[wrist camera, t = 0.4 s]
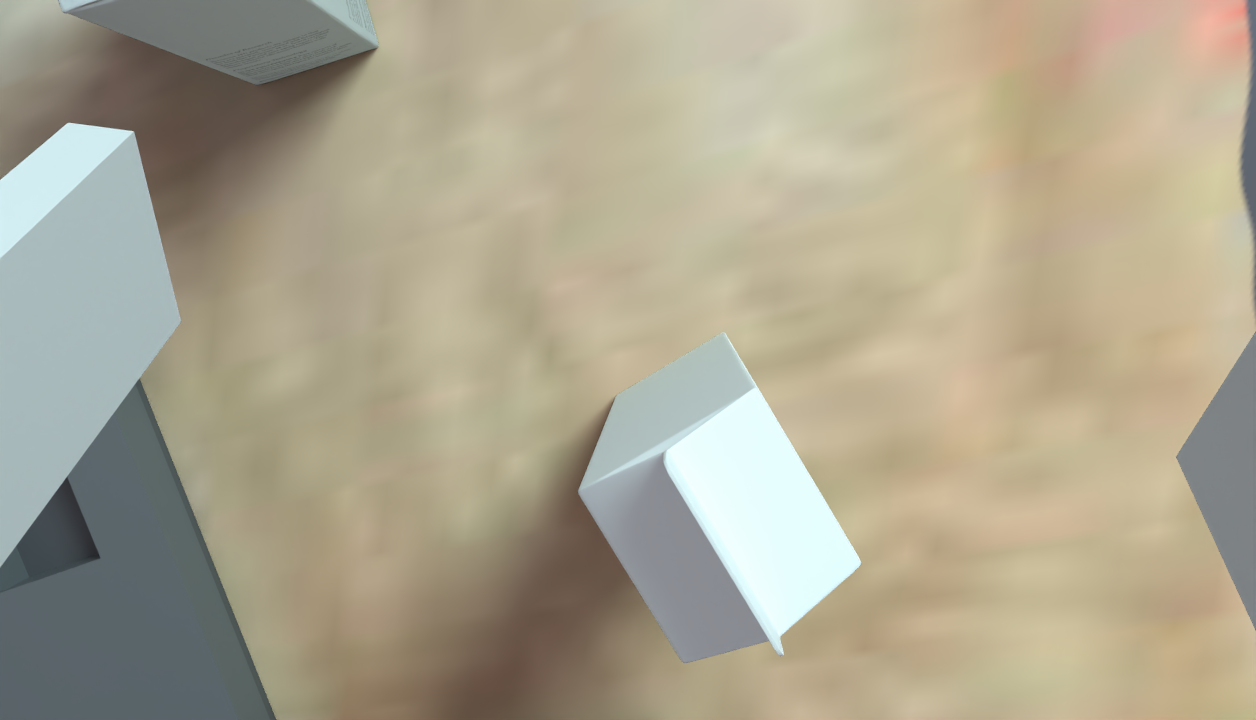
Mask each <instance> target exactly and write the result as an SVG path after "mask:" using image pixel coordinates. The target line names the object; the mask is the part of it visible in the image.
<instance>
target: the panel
mask: <svg viewBox="0 0 1256 720" xmlns="http://www.w3.org/2000/svg"><path fill="white" fill-rule="evenodd" d="M0 720H276V718H275V716H274V713H273V711H272V708H271V706H270V703H269V701H268V698H267V696H266V693H265V691H264V688H263V686H262V683H261V681H260V678H259V676H258V673H257V671H256V668H255V666H254V663H253V661H252V658H251V656H250V653H249V651H248V648H247V646H246V643H245V641H244V638H243V636H242V633H241V631H240V629H239V626H238V624H237V621H236V619H235V616H234V614H233V611H232V609H231V606H230V604H229V601H228V599H227V596H226V594H225V591H224V589H223V586H222V584H221V581H220V579H219V576H218V574H217V571H216V569H215V566H214V564H213V561H212V559H211V556H210V554H209V551H208V549H207V546H206V544H205V541H204V539H203V536H202V534H201V531H200V529H199V526H198V524H197V521H196V519H195V516H194V514H193V511H192V509H191V506H190V504H189V501H188V499H187V496H186V494H185V491H184V489H183V486H182V484H181V481H180V479H179V476H178V474H177V471H176V469H175V466H174V464H173V461H172V459H171V456H170V454H169V451H168V449H167V446H166V444H165V441H164V439H163V436H162V434H161V431H160V429H159V426H158V424H157V421H156V419H155V416H154V414H153V411H152V409H151V406H150V404H149V401H148V399H147V396H146V394H145V391H144V389H143V386H142V384H141V382H140V379H138V381H137V382H136V384H135V385H134V386H133V388H132V389H131V390H130V392H129V393H128V394H127V396H126V397H125V398H124V400H123V401H122V403H121V404H120V405H119V407H118V408H117V409H116V411H115V412H114V413H113V415H112V416H111V417H110V419H109V420H108V422H107V423H106V424H105V426H104V427H103V428H102V430H101V431H100V432H99V434H98V435H97V437H96V438H95V439H94V441H93V442H92V443H91V445H90V446H89V447H88V449H87V450H86V451H85V453H84V454H83V456H82V457H81V458H80V460H79V461H78V462H77V464H76V465H75V466H74V468H73V469H72V471H71V472H70V473H69V475H68V476H67V477H66V479H65V480H64V481H63V483H62V484H61V485H60V487H59V488H58V490H57V491H56V492H55V494H54V495H53V496H52V498H51V499H50V500H49V502H48V503H47V504H46V506H45V507H44V509H43V510H42V511H41V513H40V514H39V515H38V517H37V518H36V519H35V521H34V522H33V524H32V525H31V526H30V528H29V529H28V530H27V532H26V533H25V534H24V536H23V537H22V538H21V540H20V541H19V543H18V544H17V545H16V547H15V548H14V549H13V551H12V552H11V553H10V555H9V556H8V558H7V559H6V560H5V562H4V563H3V564H2V566H1V567H0Z"/></svg>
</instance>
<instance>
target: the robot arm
mask: <svg viewBox="0 0 1256 720" xmlns="http://www.w3.org/2000/svg"><path fill="white" fill-rule="evenodd" d="M180 322H181V319H180V315H179V311H178V307H177V303H176V299H175V295H174V291H173V287H172V283H171V279H170V275H169V271H168V267H167V263H166V259H165V255H164V251H163V247H162V242H161V238H160V234H159V230H158V226H157V222H156V218H155V214H154V210H153V206H152V202H151V198H150V194H149V190H148V186H147V182H146V178H145V174H144V170H143V166H142V162H141V158H140V154H139V150H138V146H137V142H136V138H135V134H134V131H127V130H120V129H112V128H105V127H97V126H90V125H82V124H75V123H67V124H66V125H65V126H64V127H62V128H61V129H60V130H59V131H58V132H56V133H55V134H54V135H53V136H52V137H51V138H49V139H48V140H47V141H46V142H45V143H43V144H42V145H41V146H40V147H39V148H38V149H36V150H35V151H34V152H33V153H32V154H30V155H29V156H28V157H27V158H26V159H25V160H23V161H22V162H21V163H20V164H19V165H17V166H16V167H15V168H14V169H13V170H12V171H10V172H9V173H8V174H7V175H6V176H4V177H3V178H2V179H1V180H0V567H1V566H2V564H3V563H4V562H5V560H6V559H7V558H8V556H9V555H10V553H11V552H12V551H13V549H14V548H15V547H16V545H17V544H18V543H19V541H20V540H21V538H22V537H23V536H24V534H25V533H26V532H27V530H28V529H29V528H30V526H31V525H32V524H33V522H34V521H35V519H36V518H37V517H38V515H39V514H40V513H41V511H42V510H43V509H44V507H45V506H46V504H47V503H48V502H49V500H50V499H51V498H52V496H53V495H54V494H55V492H56V491H57V490H58V488H59V487H60V485H61V484H62V483H63V481H64V480H65V479H66V477H67V476H68V475H69V473H70V472H71V471H72V469H73V468H74V466H75V465H76V464H77V462H78V461H79V460H80V458H81V457H82V456H83V454H84V453H85V451H86V450H87V449H88V447H89V446H90V445H91V443H92V442H93V441H94V439H95V438H96V437H97V435H98V434H99V432H100V431H101V430H102V428H103V427H104V426H105V424H106V423H107V422H108V420H109V419H110V417H111V416H112V415H113V413H114V412H115V411H116V409H117V408H118V407H119V405H120V404H121V403H122V401H123V400H124V398H125V397H126V396H127V394H128V393H129V392H130V390H131V389H132V388H133V386H134V385H135V384H136V382H137V381H138V379H139V378H140V377H141V375H142V374H143V373H144V371H145V370H146V369H147V367H148V366H149V364H150V363H151V362H152V360H153V359H154V358H155V356H156V355H157V354H158V352H159V351H160V350H161V348H162V347H163V345H164V344H165V343H166V341H167V340H168V339H169V337H170V336H171V335H172V333H173V332H174V330H175V329H176V328H177V326H178V325H179V324H180ZM1176 458H1177V460H1178V462H1179V464H1180V467H1181V469H1182V471H1183V473H1184V475H1185V477H1186V480H1187V482H1188V484H1189V486H1190V488H1191V491H1192V493H1193V495H1194V497H1195V499H1196V501H1197V504H1198V506H1199V508H1200V510H1201V512H1202V515H1203V517H1204V519H1205V521H1206V523H1207V525H1208V528H1209V530H1210V532H1211V534H1212V536H1213V538H1214V541H1215V543H1216V545H1217V547H1218V549H1219V552H1220V554H1221V556H1222V558H1223V560H1224V562H1225V565H1226V567H1227V569H1228V571H1229V573H1230V576H1231V578H1232V580H1233V582H1234V584H1235V586H1236V589H1237V591H1238V593H1239V595H1240V597H1241V600H1242V602H1243V604H1244V606H1245V608H1246V610H1247V613H1248V615H1249V617H1250V619H1251V621H1252V623H1253V626H1254V628H1255V630H1256V332H1255V334H1254V335H1253V337H1252V338H1251V340H1250V341H1249V343H1248V345H1247V346H1246V348H1245V349H1244V351H1243V352H1242V354H1241V356H1240V357H1239V359H1238V360H1237V362H1236V363H1235V365H1234V367H1233V368H1232V370H1231V371H1230V373H1229V374H1228V376H1227V378H1226V379H1225V381H1224V382H1223V384H1222V385H1221V387H1220V389H1219V390H1218V392H1217V393H1216V395H1215V396H1214V398H1213V400H1212V401H1211V403H1210V404H1209V406H1208V407H1207V409H1206V411H1205V412H1204V414H1203V415H1202V417H1201V418H1200V420H1199V422H1198V423H1197V425H1196V426H1195V428H1194V429H1193V431H1192V433H1191V434H1190V436H1189V437H1188V439H1187V440H1186V442H1185V444H1184V445H1183V447H1182V448H1181V450H1180V451H1179V453H1178V455H1177V456H1176Z"/></svg>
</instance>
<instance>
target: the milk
mask: <svg viewBox="0 0 1256 720" xmlns="http://www.w3.org/2000/svg"><path fill="white" fill-rule="evenodd" d="M578 494H579V496H580V497H581V499H582V501H583V502H584V504H585V506H586V507H587V509H588V510H589V512H590V514H591V515H592V517H593V519H594V520H595V522H596V523H597V525H598V527H599V528H600V530H601V532H602V533H603V535H604V536H605V538H606V540H607V541H608V543H609V545H610V546H611V548H612V549H613V551H614V553H615V554H616V556H617V558H618V559H619V561H620V562H621V564H622V566H623V567H624V569H625V571H626V572H627V574H628V575H629V577H630V579H631V580H632V582H633V584H634V585H635V587H636V588H637V590H638V592H639V593H640V595H641V597H642V598H643V600H644V601H645V603H646V605H647V606H648V608H649V609H650V611H651V613H652V614H653V616H654V618H655V619H656V621H657V622H658V624H659V626H660V627H661V629H662V631H663V632H664V634H665V635H666V637H667V639H668V640H669V642H670V644H671V645H672V647H673V648H674V650H675V652H676V653H677V655H678V657H679V658H680V660H681V661H682V662H683V663H689V662H693V661H696V660H700V659H704V658H707V657H711V656H715V655H719V654H722V653H726V652H730V651H733V650H737V649H741V648H744V647H748V646H752V645H755V644H759V643H763V642H766V641H770V643H771V645H772V646H773V648H774V649H775V651H776V652H777V654H778V655H779V656H783V655H784V653H783V649H782V645H781V641H780V636H781V635H782V634H784V633H785V632H786V631H787V630H788V629H789V628H790V627H792V626H793V625H794V624H795V623H796V622H797V621H798V620H799V619H801V618H802V617H803V616H804V615H805V614H806V613H807V612H809V611H810V610H811V609H812V608H813V607H814V606H815V605H817V604H818V603H819V602H820V601H821V600H822V599H823V598H825V597H826V596H827V595H828V594H829V593H830V592H831V591H832V590H834V589H835V588H836V587H837V586H838V585H839V584H840V583H842V582H843V581H844V580H845V579H846V578H847V577H848V576H850V575H851V574H852V573H853V572H854V571H855V570H856V569H857V568H858V567H859V566H860V564H861V561H860V559H859V557H858V555H857V553H856V552H855V550H854V548H853V547H852V545H851V543H850V542H849V540H848V538H847V537H846V535H845V533H844V531H843V530H842V528H841V526H840V525H839V523H838V521H837V520H836V518H835V516H834V515H833V513H832V511H831V510H830V508H829V506H828V505H827V503H826V501H825V500H824V498H823V496H822V495H821V493H820V491H819V490H818V488H817V486H816V484H815V483H814V481H813V479H812V478H811V476H810V474H809V473H808V471H807V469H806V468H805V466H804V464H803V463H802V461H801V459H800V458H799V456H798V454H797V453H796V451H795V449H794V448H793V446H792V444H791V442H790V441H789V439H788V437H787V436H786V434H785V432H784V431H783V429H782V427H781V426H780V424H779V422H778V421H777V419H776V417H775V416H774V414H773V412H772V411H771V409H770V407H769V406H768V404H767V402H766V401H765V399H764V397H763V395H762V394H761V392H760V390H759V389H758V387H757V385H756V384H755V382H754V380H753V379H752V377H751V375H750V374H749V372H748V370H747V369H746V367H745V365H744V364H743V362H742V360H741V359H740V357H739V355H738V354H737V352H736V350H735V349H734V347H733V345H732V344H731V342H730V340H729V339H728V337H727V335H726V334H725V333H724V332H723V333H720V334H719V335H717V336H715V337H714V338H712V339H710V340H709V341H707V342H705V343H704V344H702V345H700V346H699V347H697V348H695V349H693V350H692V351H690V352H688V353H687V354H685V355H683V356H682V357H680V358H678V359H677V360H675V361H673V362H672V363H670V364H668V365H666V366H665V367H663V368H661V369H660V370H658V371H656V372H655V373H653V374H651V375H650V376H648V377H646V378H645V379H643V380H641V381H639V382H638V383H636V384H634V385H633V386H631V387H629V388H628V389H626V390H624V391H623V392H621V393H619V394H618V395H616V397H615V400H614V402H613V405H612V407H611V410H610V412H609V415H608V417H607V420H606V422H605V425H604V427H603V430H602V432H601V435H600V437H599V440H598V442H597V445H596V447H595V450H594V452H593V455H592V457H591V460H590V462H589V465H588V467H587V470H586V472H585V475H584V477H583V480H582V482H581V485H580V487H579V490H578Z"/></svg>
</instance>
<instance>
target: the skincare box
mask: <svg viewBox="0 0 1256 720" xmlns="http://www.w3.org/2000/svg"><path fill="white" fill-rule="evenodd" d="M58 1H59V4H60V7H61V9H62V11H63V13H69V14H71V15H74V16H76V17H79V18H81V19H84V20H87V21H89V22H92V23H95V24H97V25H100V26H102V27H105V28H108V29H110V30H113V31H116V32H118V33H121V34H124V35H126V36H129V37H131V38H134V39H137V40H139V41H142V42H145V43H147V44H150V45H153V46H155V47H158V48H160V49H163V50H165V51H168V52H171V53H173V54H176V55H179V56H181V57H184V58H187V59H189V60H192V61H195V62H197V63H200V64H202V65H205V66H207V67H210V68H213V69H215V70H218V71H221V72H223V73H226V74H229V75H231V76H234V77H237V78H239V79H242V80H244V81H247V82H249V83H252V84H254V85H260V84H264V83H267V82H271V81H274V80H277V79H280V78H283V77H287V76H290V75H293V74H296V73H299V72H302V71H306V70H309V69H312V68H315V67H318V66H321V65H325V64H328V63H331V62H334V61H337V60H340V59H343V58H346V57H349V56H352V55H355V54H358V53H362V52H365V51H368V50H371V49H375V48H378V41H377V37H376V33H375V30H374V27H373V23H372V20H371V17H370V13H369V10H368V7H367V4H366V0H58Z"/></svg>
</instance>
